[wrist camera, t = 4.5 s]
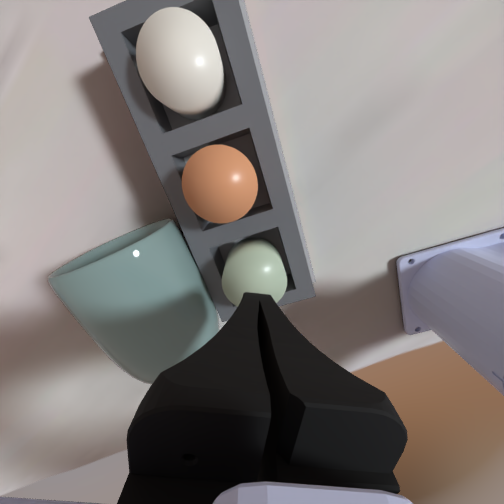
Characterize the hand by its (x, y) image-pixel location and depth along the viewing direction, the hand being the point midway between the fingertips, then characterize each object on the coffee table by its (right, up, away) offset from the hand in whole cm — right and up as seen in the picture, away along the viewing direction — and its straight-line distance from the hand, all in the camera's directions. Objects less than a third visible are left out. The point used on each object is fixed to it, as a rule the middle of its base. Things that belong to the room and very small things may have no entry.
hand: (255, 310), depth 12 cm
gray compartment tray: (-2, +8, +6) cm, 10 cm away
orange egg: (-2, +7, +4) cm, 8 cm away
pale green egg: (0, +2, +6) cm, 6 cm away
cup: (-5, -5, +7) cm, 10 cm away
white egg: (-4, +13, +3) cm, 14 cm away
